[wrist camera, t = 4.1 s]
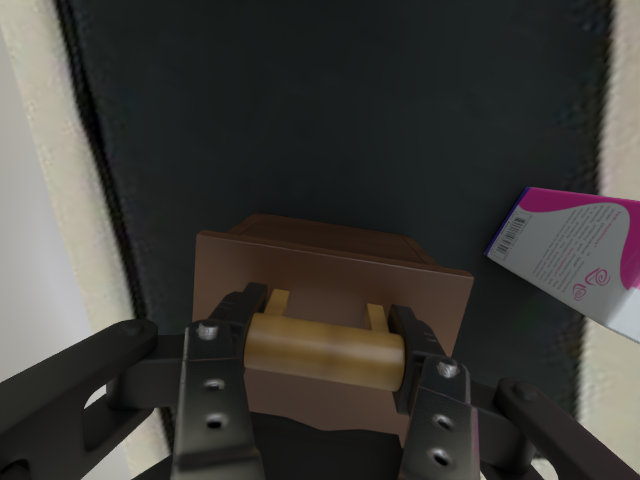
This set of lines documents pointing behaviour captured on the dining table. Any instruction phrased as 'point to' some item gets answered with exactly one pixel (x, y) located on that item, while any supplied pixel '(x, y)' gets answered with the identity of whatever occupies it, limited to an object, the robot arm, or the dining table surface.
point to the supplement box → (577, 253)
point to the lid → (327, 326)
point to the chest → (333, 237)
